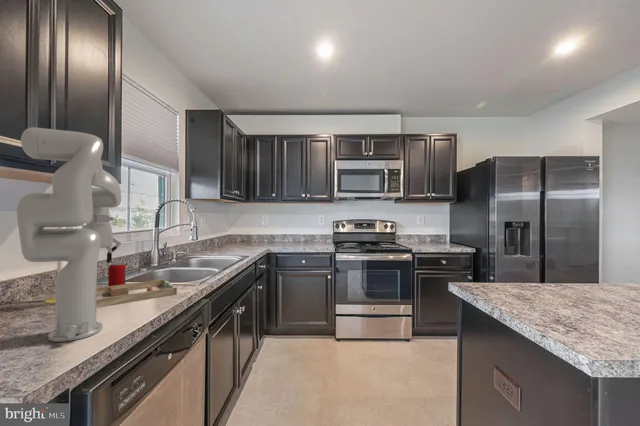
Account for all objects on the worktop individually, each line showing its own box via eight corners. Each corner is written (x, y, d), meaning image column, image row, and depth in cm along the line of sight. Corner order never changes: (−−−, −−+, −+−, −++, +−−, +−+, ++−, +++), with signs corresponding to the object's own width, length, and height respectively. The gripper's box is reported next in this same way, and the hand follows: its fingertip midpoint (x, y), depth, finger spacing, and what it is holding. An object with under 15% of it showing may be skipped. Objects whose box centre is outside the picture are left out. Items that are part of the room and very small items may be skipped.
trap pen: (176, 294, 130) (176, 287, 130) (91, 308, 111) (91, 300, 111) (164, 285, 147) (164, 279, 147) (88, 295, 127) (88, 288, 127)
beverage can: (128, 287, 143) (128, 262, 143) (117, 290, 136) (118, 264, 136) (116, 286, 143) (116, 262, 144) (104, 290, 137) (104, 264, 137)
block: (128, 299, 123) (128, 289, 123) (113, 301, 120) (113, 291, 120) (126, 296, 127) (126, 287, 127) (112, 298, 124) (112, 289, 124)
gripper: (121, 219, 127) (121, 260, 127) (69, 220, 116) (68, 264, 116) (124, 220, 121) (123, 262, 121) (69, 220, 110) (69, 267, 110)
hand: (97, 263), depth 118 cm, fingers open, 6 cm apart
